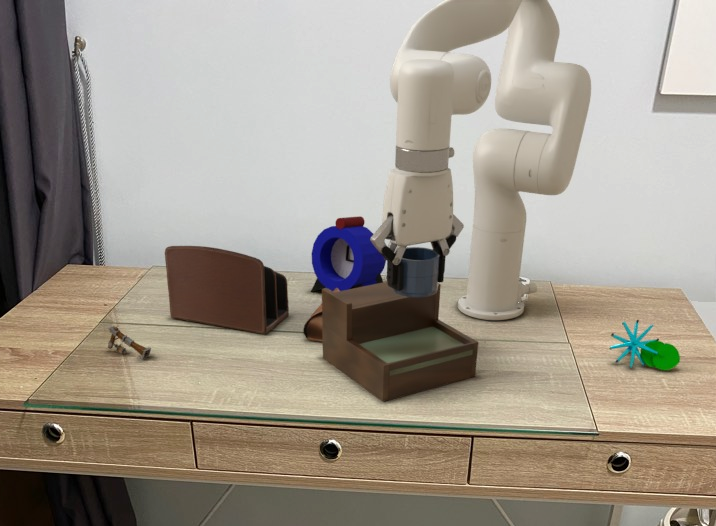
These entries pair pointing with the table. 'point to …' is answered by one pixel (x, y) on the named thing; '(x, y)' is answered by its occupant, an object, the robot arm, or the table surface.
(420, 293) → the cup
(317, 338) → the sunglasses case
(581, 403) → the table surface
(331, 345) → the brown wooden drawer box
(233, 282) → the letter holder
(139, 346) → the brown branched rod
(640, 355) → the stick construction toy
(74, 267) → the table surface
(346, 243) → the alarm clock
